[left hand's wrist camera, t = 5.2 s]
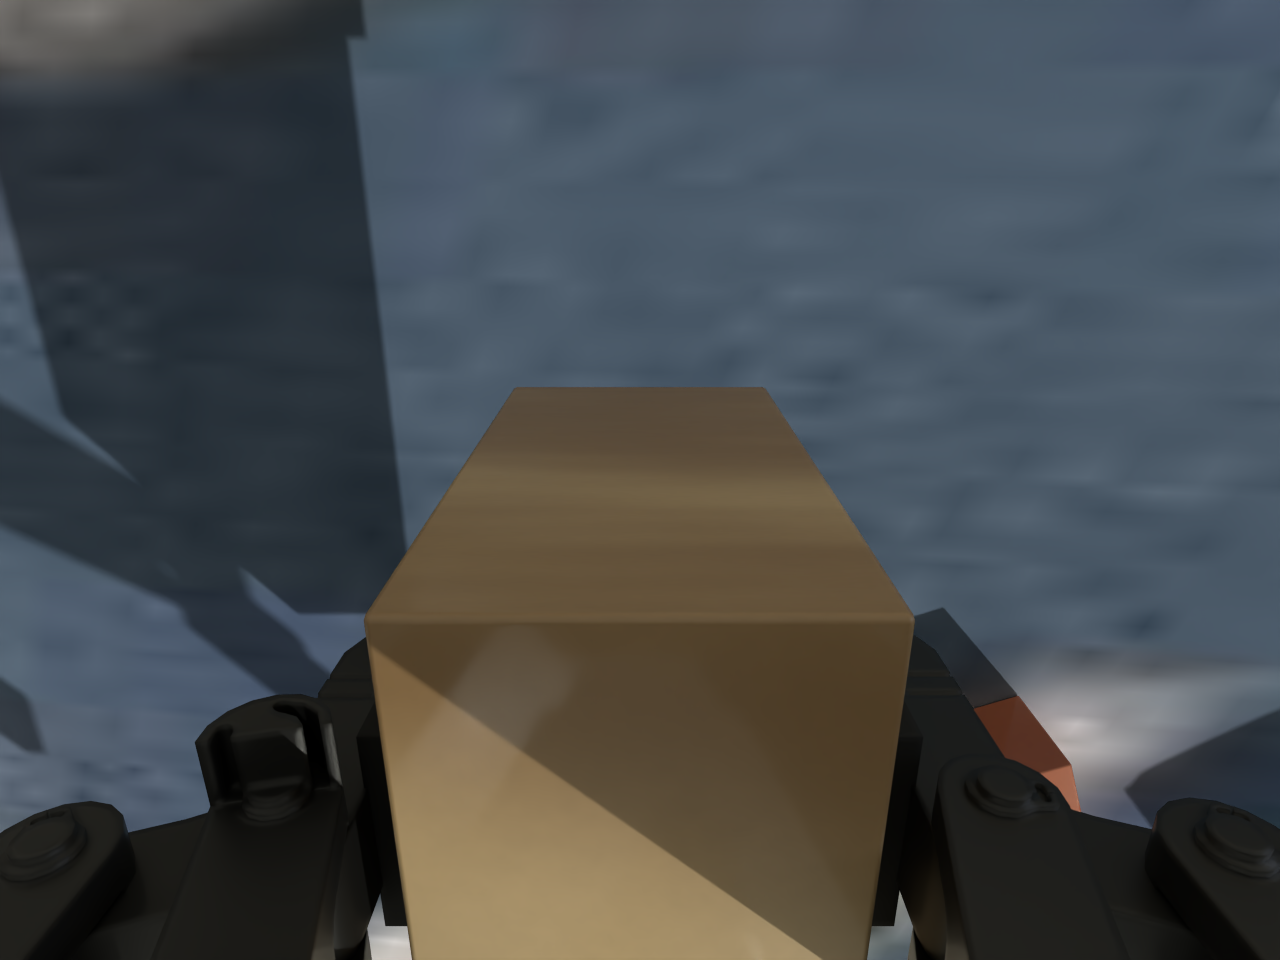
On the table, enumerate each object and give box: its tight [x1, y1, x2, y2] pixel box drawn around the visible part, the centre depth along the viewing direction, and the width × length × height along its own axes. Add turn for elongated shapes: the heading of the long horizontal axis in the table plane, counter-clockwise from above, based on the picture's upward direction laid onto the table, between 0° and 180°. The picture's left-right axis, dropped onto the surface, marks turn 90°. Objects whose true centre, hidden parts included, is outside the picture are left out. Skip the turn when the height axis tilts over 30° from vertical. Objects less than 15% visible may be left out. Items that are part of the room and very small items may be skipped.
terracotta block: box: [974, 696, 1081, 812], centre depth 30 cm, size 4×4×4 cm
